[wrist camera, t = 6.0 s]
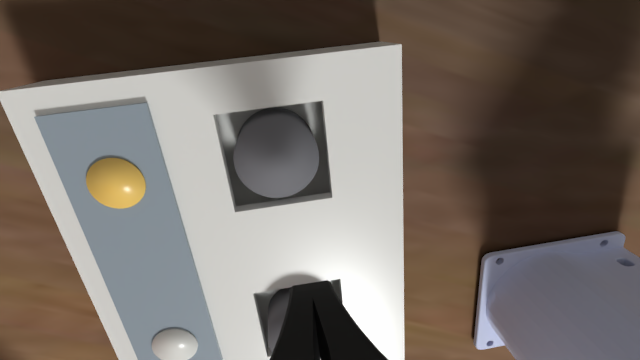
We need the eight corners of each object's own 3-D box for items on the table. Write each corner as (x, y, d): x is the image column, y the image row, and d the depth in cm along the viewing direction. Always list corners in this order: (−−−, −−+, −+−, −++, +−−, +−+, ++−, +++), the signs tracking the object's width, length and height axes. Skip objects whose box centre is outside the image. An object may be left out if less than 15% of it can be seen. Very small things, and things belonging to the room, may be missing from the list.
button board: (379, 41, 17) (404, 44, 14) (391, 406, 27) (406, 453, 24) (44, 80, 16) (-10, 93, 13) (190, 447, 26) (180, 502, 23)
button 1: (309, 102, 16) (314, 111, 15) (317, 174, 18) (322, 191, 16) (230, 112, 16) (225, 123, 14) (245, 185, 18) (242, 203, 16)
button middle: (330, 276, 19) (337, 303, 17) (336, 327, 20) (343, 356, 19) (262, 287, 19) (262, 316, 17) (273, 338, 20) (273, 369, 18)
